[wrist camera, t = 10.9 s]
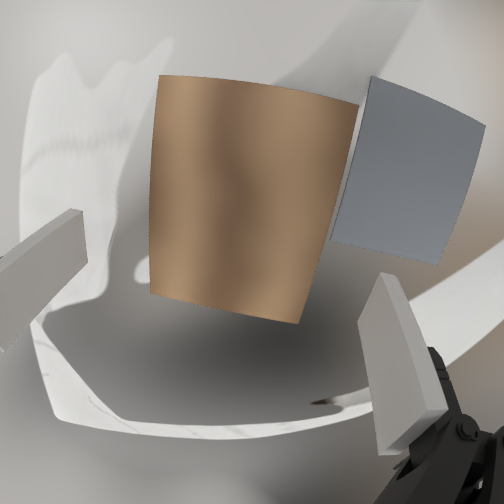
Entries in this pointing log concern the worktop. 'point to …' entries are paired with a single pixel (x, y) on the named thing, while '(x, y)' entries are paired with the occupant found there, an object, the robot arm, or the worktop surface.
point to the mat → (407, 174)
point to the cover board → (243, 192)
